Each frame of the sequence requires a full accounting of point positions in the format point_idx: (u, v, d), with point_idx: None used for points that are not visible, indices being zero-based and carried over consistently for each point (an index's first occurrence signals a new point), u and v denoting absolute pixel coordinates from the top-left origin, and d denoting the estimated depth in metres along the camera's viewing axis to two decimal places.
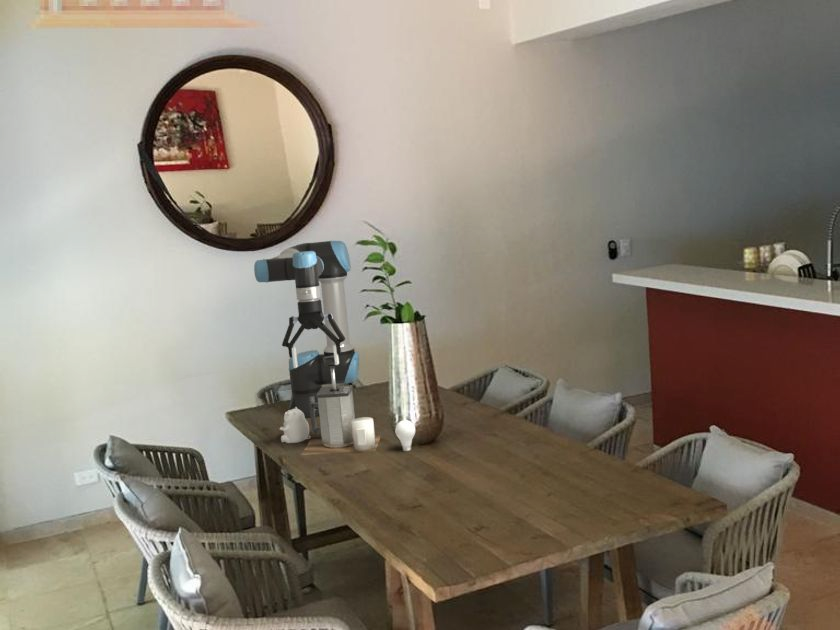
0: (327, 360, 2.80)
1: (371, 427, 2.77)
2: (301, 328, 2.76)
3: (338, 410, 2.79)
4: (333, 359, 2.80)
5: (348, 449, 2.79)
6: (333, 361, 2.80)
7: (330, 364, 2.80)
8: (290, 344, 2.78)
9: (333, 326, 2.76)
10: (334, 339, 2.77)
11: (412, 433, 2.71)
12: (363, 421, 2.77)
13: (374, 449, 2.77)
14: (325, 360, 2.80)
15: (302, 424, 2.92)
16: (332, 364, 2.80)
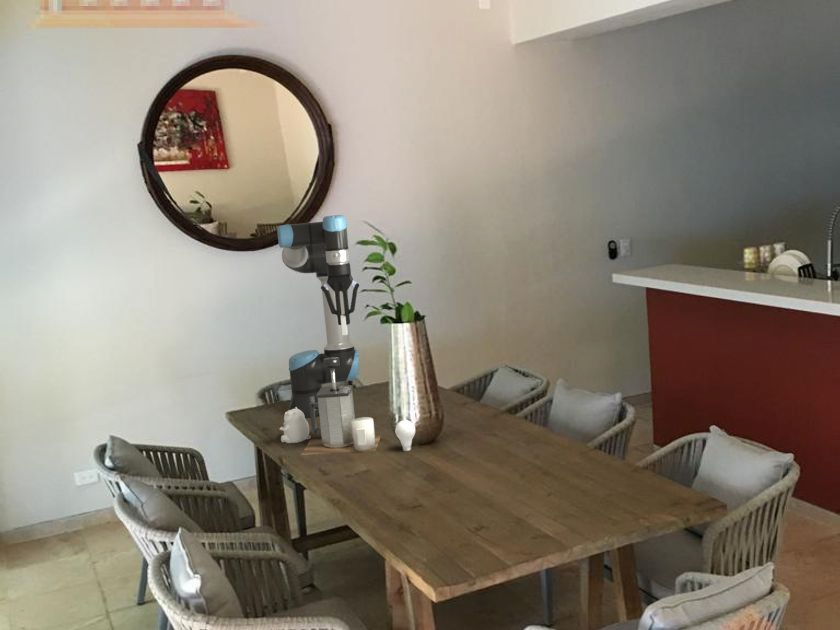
0: (327, 362, 2.80)
1: (371, 427, 2.77)
2: (336, 292, 2.82)
3: (338, 410, 2.79)
4: (333, 361, 2.80)
5: (348, 449, 2.79)
6: (333, 363, 2.80)
7: (330, 366, 2.80)
8: (338, 311, 2.84)
9: (353, 295, 2.83)
10: (346, 309, 2.84)
11: (412, 433, 2.71)
12: (363, 421, 2.77)
13: (374, 449, 2.77)
14: (325, 362, 2.80)
15: (302, 424, 2.92)
16: (332, 366, 2.80)
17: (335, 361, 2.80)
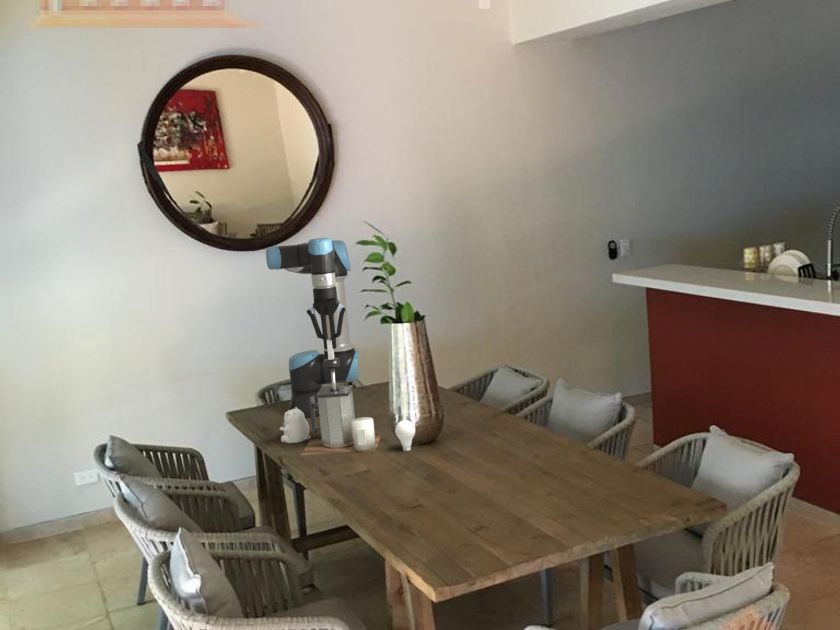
0: (327, 362, 2.80)
1: (371, 427, 2.77)
2: (322, 316, 2.78)
3: (338, 410, 2.79)
4: (333, 361, 2.80)
5: (348, 449, 2.79)
6: (333, 363, 2.80)
7: (330, 366, 2.80)
8: (324, 336, 2.79)
9: (339, 319, 2.78)
10: (332, 333, 2.79)
11: (412, 433, 2.71)
12: (363, 421, 2.77)
13: (374, 449, 2.77)
14: (325, 362, 2.80)
15: (302, 424, 2.92)
16: (332, 366, 2.80)
17: (335, 362, 2.80)
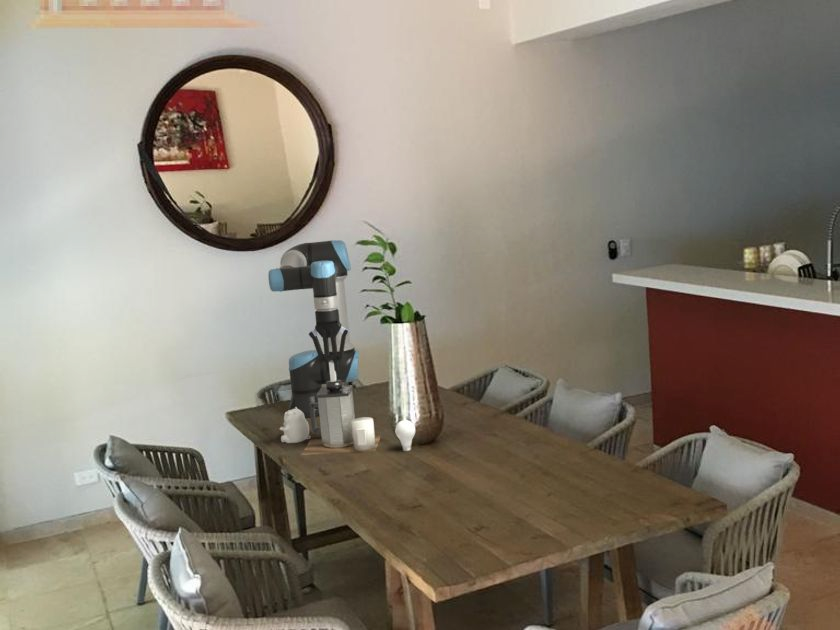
0: (329, 384, 2.81)
1: (371, 427, 2.77)
2: (324, 338, 2.79)
3: (338, 410, 2.79)
4: (335, 383, 2.81)
5: (348, 449, 2.79)
6: (335, 385, 2.81)
7: (332, 388, 2.81)
8: (326, 358, 2.81)
9: (342, 342, 2.79)
10: (334, 356, 2.80)
11: (412, 433, 2.71)
12: (363, 421, 2.77)
13: (374, 449, 2.77)
14: (327, 384, 2.81)
15: (302, 424, 2.92)
16: (334, 388, 2.81)
17: (337, 384, 2.81)
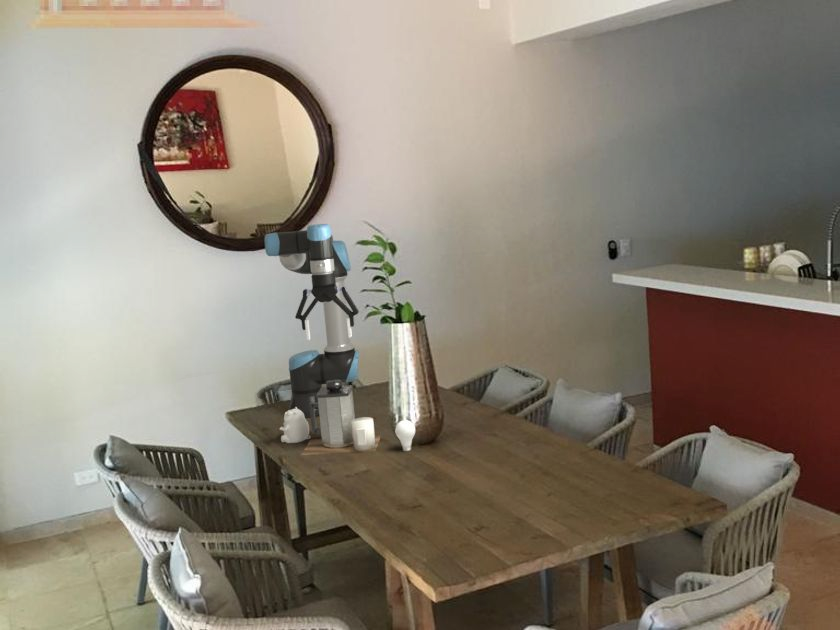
0: (329, 384, 2.81)
1: (371, 427, 2.77)
2: (315, 301, 2.77)
3: (338, 410, 2.79)
4: (335, 383, 2.81)
5: (348, 449, 2.79)
6: (335, 385, 2.81)
7: (332, 388, 2.81)
8: (303, 316, 2.79)
9: (347, 299, 2.77)
10: (348, 312, 2.78)
11: (412, 433, 2.71)
12: (363, 421, 2.77)
13: (374, 449, 2.77)
14: (327, 384, 2.81)
15: (302, 424, 2.92)
16: (334, 388, 2.81)
17: (337, 384, 2.81)
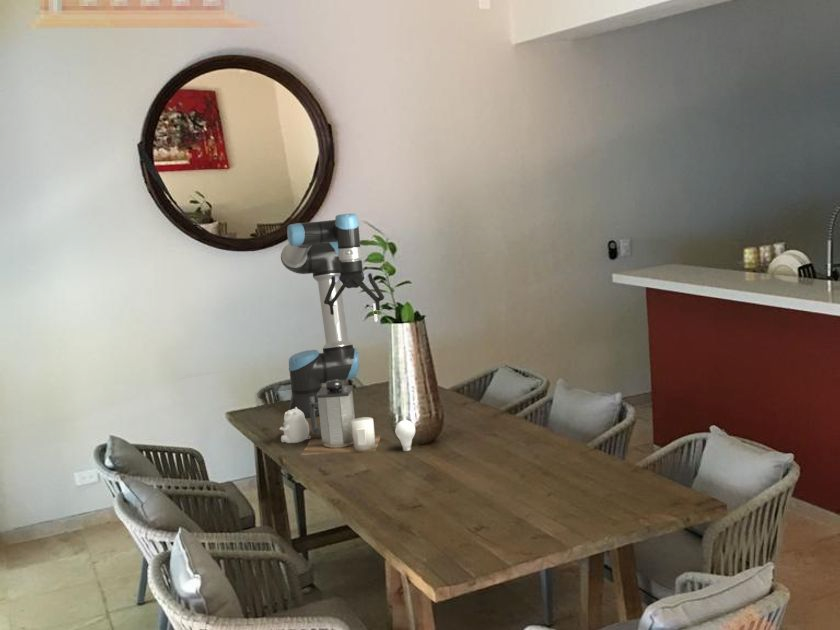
0: (329, 384, 2.81)
1: (371, 427, 2.77)
2: (343, 287, 2.91)
3: (338, 410, 2.79)
4: (335, 383, 2.81)
5: (348, 449, 2.79)
6: (335, 385, 2.81)
7: (332, 388, 2.81)
8: (332, 302, 2.93)
9: (373, 285, 2.91)
10: (374, 297, 2.92)
11: (412, 433, 2.71)
12: (363, 421, 2.77)
13: (374, 449, 2.77)
14: (327, 384, 2.81)
15: (302, 424, 2.92)
16: (334, 388, 2.81)
17: (337, 384, 2.81)
